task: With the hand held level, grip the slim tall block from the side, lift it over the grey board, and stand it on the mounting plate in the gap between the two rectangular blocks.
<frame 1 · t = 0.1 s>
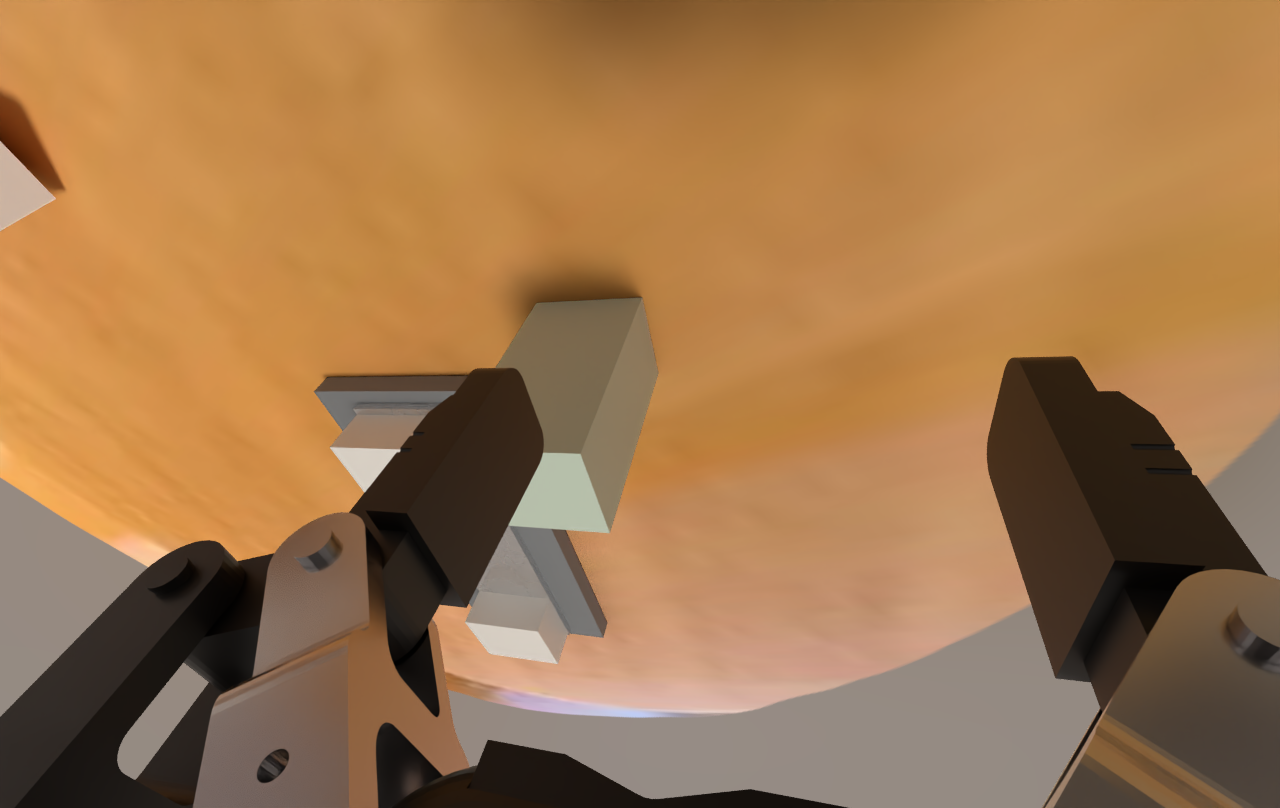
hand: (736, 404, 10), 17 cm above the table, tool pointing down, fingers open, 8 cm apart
mounting plate: (482, 539, 46), on the grey board, point 1 cm above the table
rectangular blocks: (471, 558, 45), on the mounting plate, point 4 cm above the table
tall block: (598, 338, 32), on the table
grey board: (491, 521, 47), on the table
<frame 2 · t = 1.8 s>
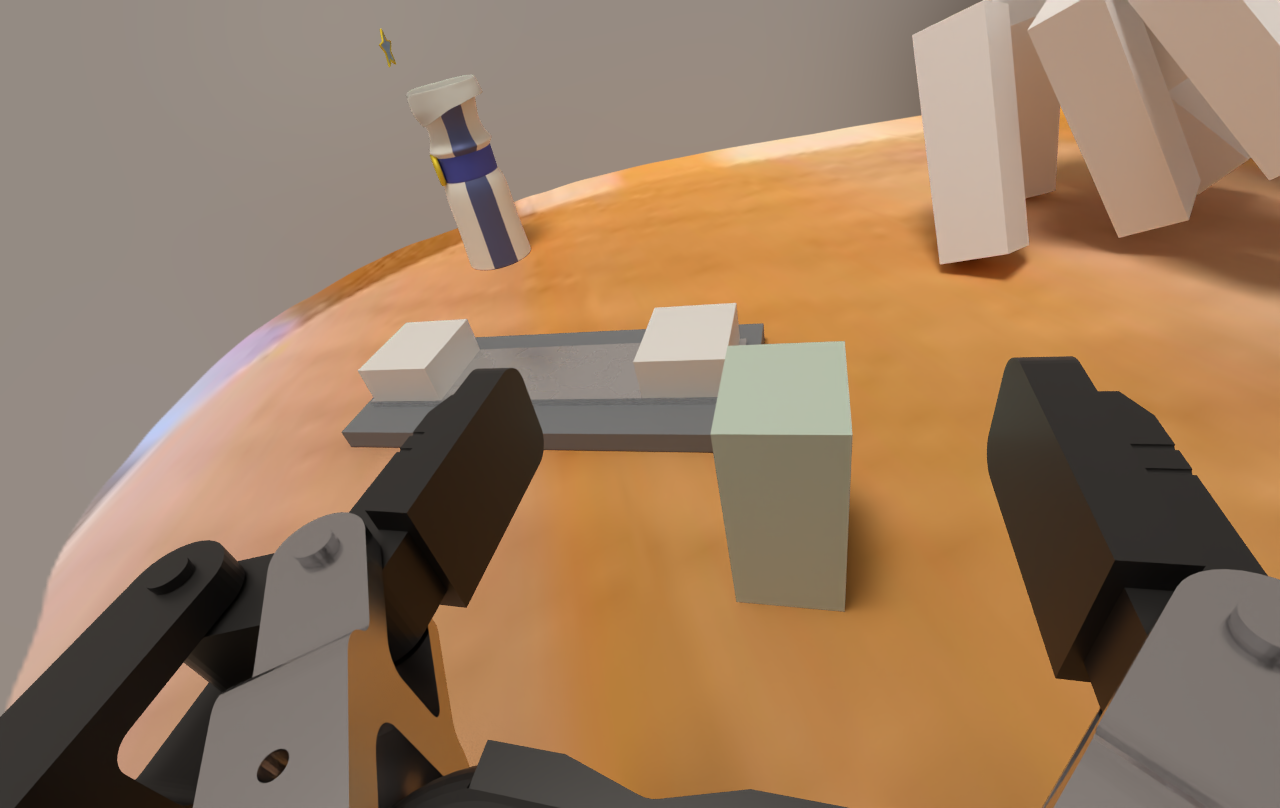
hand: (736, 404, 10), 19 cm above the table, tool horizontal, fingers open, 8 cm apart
white angular blocks: (1134, 233, 48), on the table
mounting plate: (553, 374, 44), on the grey board, point 1 cm above the table
rectangular blocks: (547, 353, 43), on the mounting plate, point 4 cm above the table
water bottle: (500, 258, 71), on the table
tall block: (790, 554, 30), on the table
grey board: (559, 392, 45), on the table
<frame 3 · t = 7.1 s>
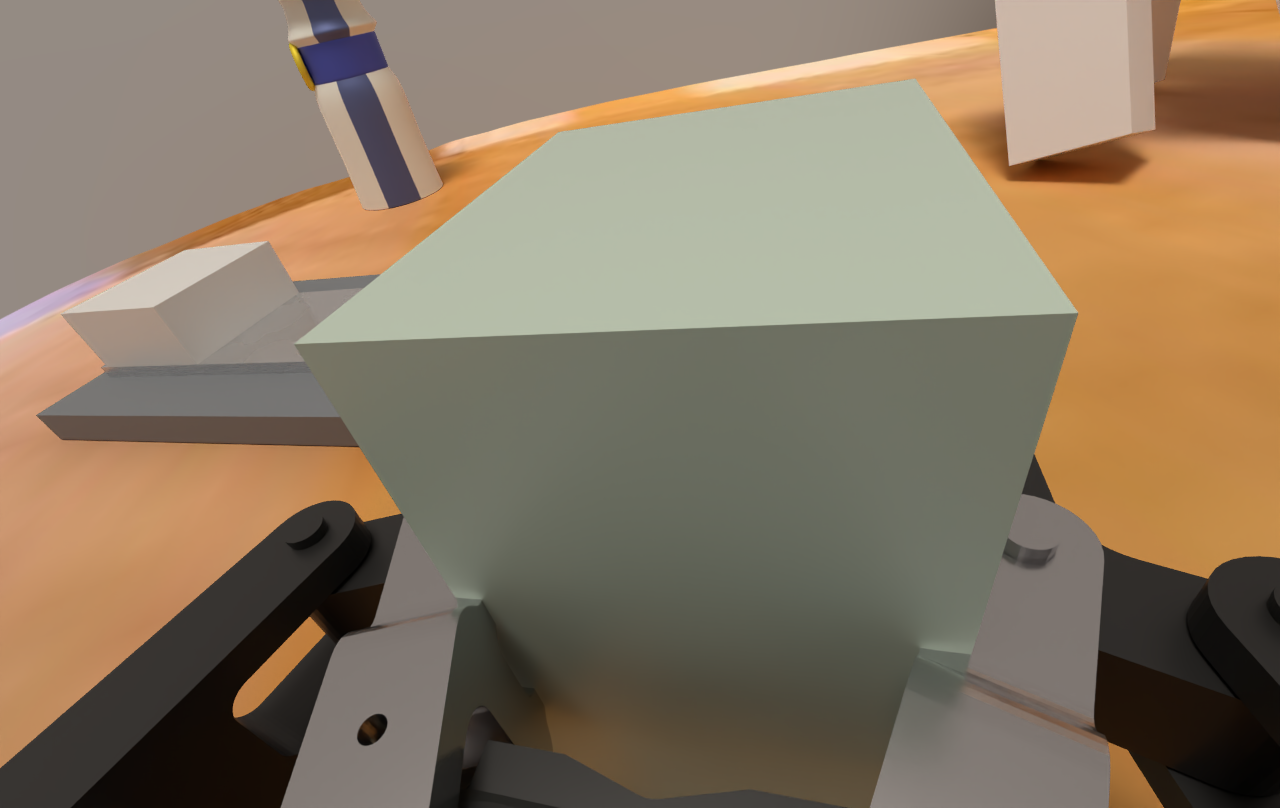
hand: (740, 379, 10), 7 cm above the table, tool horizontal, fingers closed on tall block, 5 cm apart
mounting plate: (386, 323, 27), on the grey board, point 1 cm above the table
rectangular blocks: (370, 287, 26), on the mounting plate, point 4 cm above the table
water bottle: (402, 198, 54), on the table
tall block: (753, 695, 12), on the table, touching gripper
grey board: (402, 355, 28), on the table
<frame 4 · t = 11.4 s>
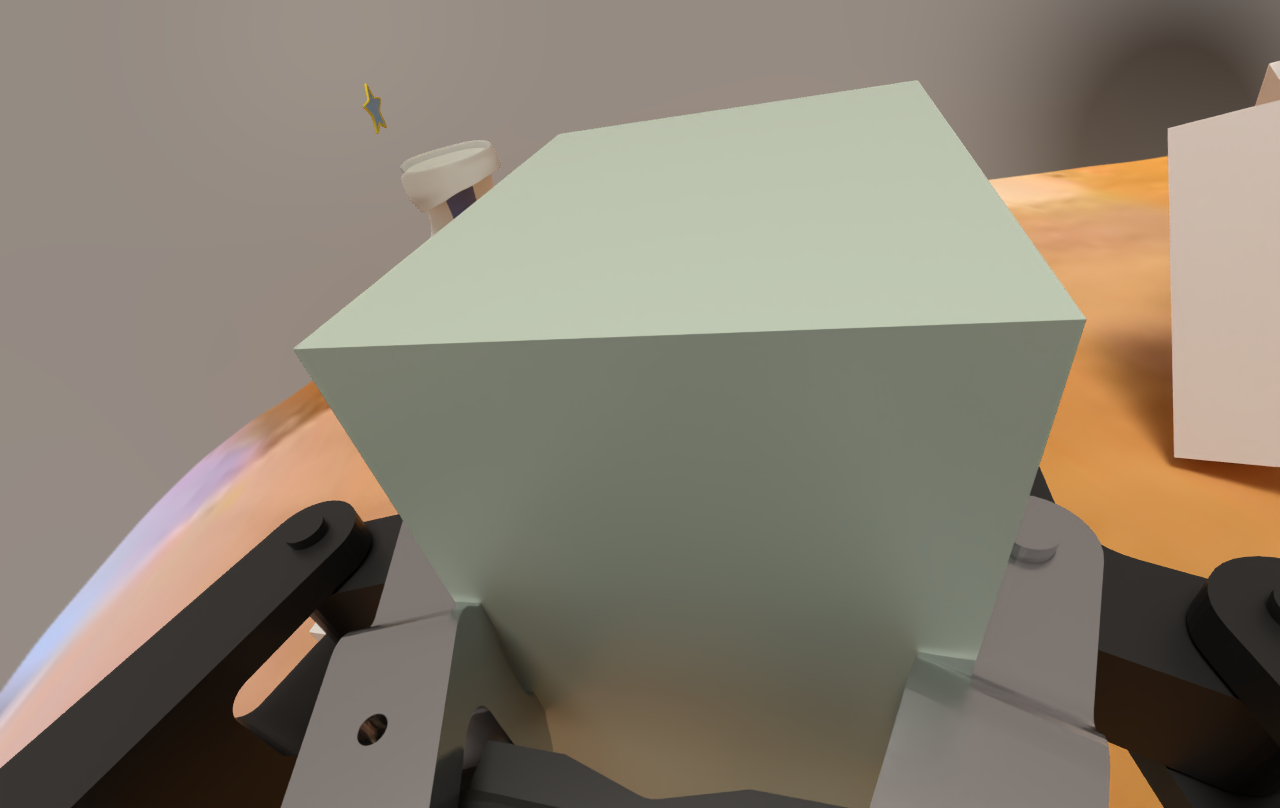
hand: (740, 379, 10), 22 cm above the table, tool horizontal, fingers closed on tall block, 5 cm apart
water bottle: (519, 361, 56), on the table
tall block: (754, 698, 12), point 15 cm above the table, touching gripper
when the fingers open (10 cm above the table, at t = 15.7 s): tall block drops 1 cm, resting on mounting plate.
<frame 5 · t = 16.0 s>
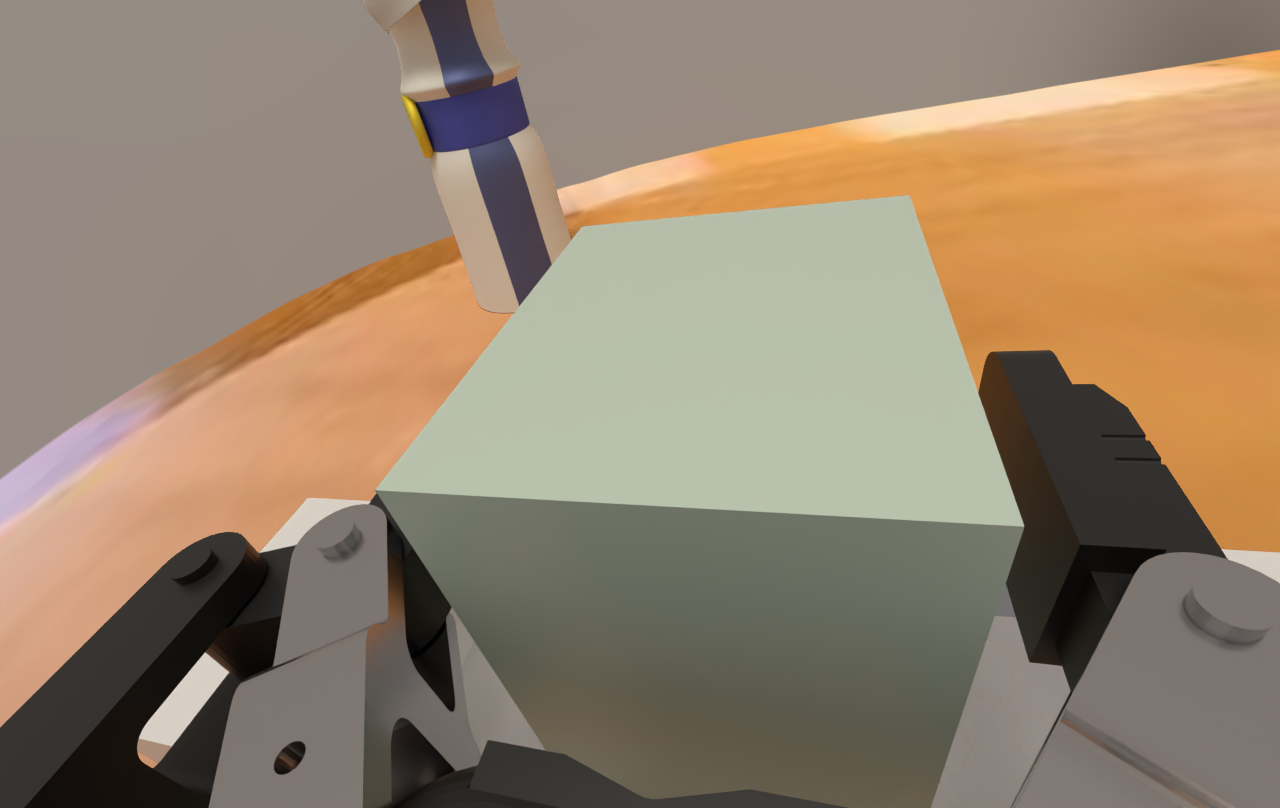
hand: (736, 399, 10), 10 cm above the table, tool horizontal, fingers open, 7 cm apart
mounting plate: (756, 732, 13), on the grey board, point 2 cm above the table
rectangular blocks: (752, 688, 12), on the mounting plate, point 4 cm above the table
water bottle: (529, 290, 41), on the table
tall block: (758, 731, 13), point 2 cm above the table, touching mounting plate
grey board: (761, 763, 14), on the table
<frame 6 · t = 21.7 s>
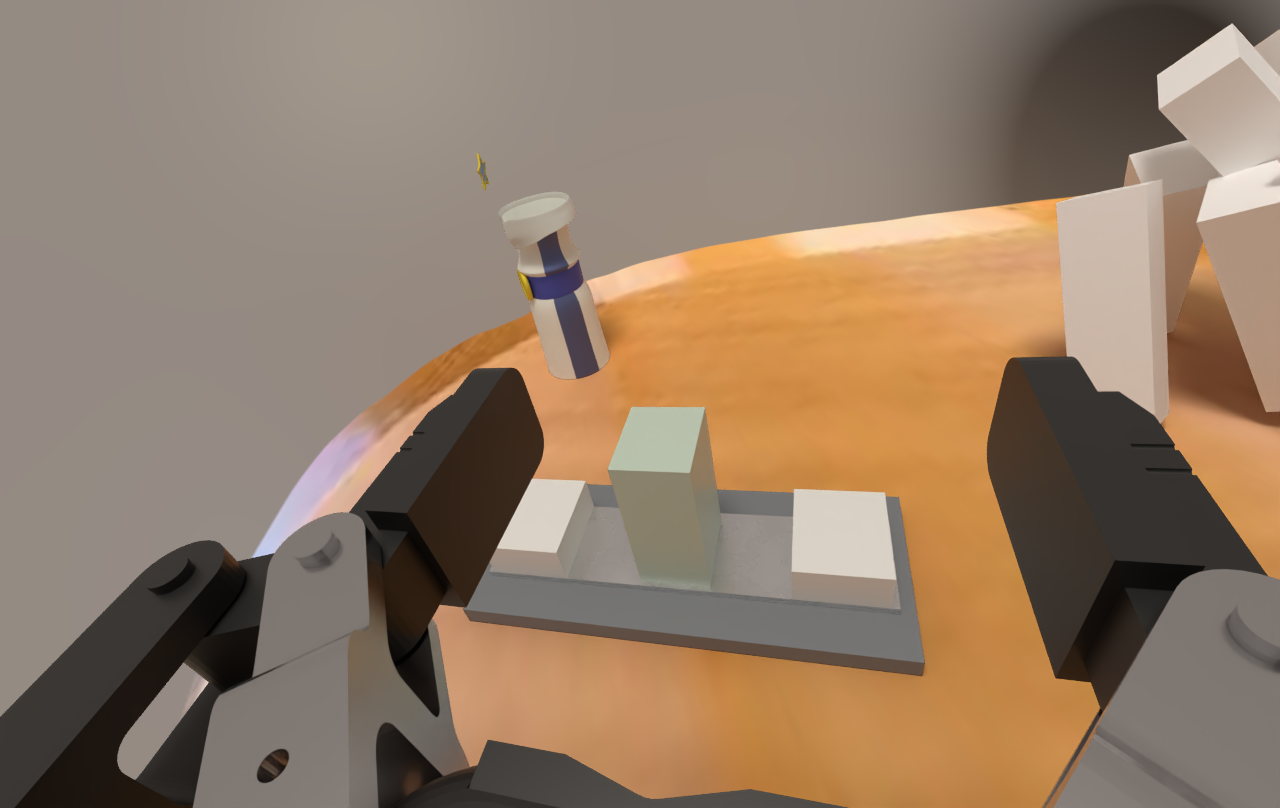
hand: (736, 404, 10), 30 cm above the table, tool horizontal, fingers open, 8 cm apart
white angular blocks: (1270, 395, 47), on the table
mounting plate: (682, 550, 43), on the grey board, point 2 cm above the table
rectangular blocks: (679, 532, 42), on the mounting plate, point 4 cm above the table
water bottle: (579, 363, 70), on the table
tall block: (682, 548, 42), point 2 cm above the table, touching mounting plate
grey board: (685, 565, 44), on the table
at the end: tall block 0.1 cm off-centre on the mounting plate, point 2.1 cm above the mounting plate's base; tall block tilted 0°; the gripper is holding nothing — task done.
